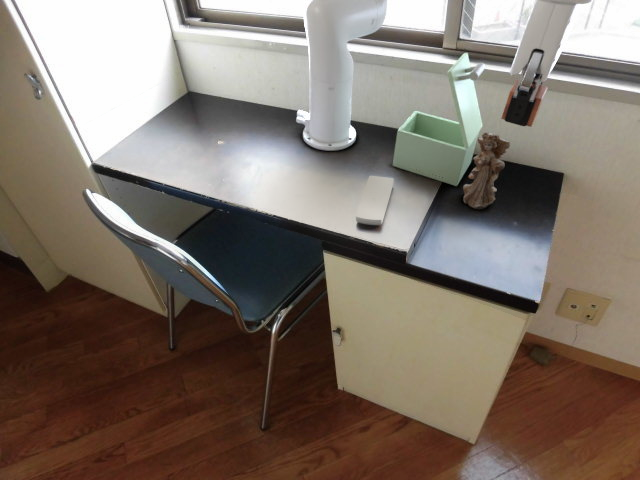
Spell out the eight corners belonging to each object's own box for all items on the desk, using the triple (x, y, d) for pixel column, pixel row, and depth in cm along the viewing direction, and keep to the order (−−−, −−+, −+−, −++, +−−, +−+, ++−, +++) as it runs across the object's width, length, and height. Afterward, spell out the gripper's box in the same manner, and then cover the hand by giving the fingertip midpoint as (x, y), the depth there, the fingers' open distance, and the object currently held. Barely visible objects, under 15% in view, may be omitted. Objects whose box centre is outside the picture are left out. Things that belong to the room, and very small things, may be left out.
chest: (392, 165, 104) (397, 130, 98) (409, 144, 111) (415, 110, 105) (456, 186, 99) (466, 150, 93) (470, 163, 105) (480, 128, 99)
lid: (447, 72, 86) (471, 66, 83) (463, 53, 92) (486, 48, 89) (464, 148, 93) (487, 146, 90) (479, 126, 99) (500, 123, 97)
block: (501, 119, 70) (509, 91, 67) (508, 106, 73) (517, 79, 70) (531, 127, 69) (541, 99, 66) (537, 114, 72) (547, 87, 69)
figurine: (451, 200, 96) (469, 134, 85) (464, 186, 99) (482, 121, 89) (486, 215, 92) (508, 148, 82) (498, 200, 96) (521, 134, 86)
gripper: (547, -38, 65) (508, 87, 78) (519, -6, 54) (478, 133, 67) (606, -29, 62) (555, 99, 75) (588, 6, 52) (532, 149, 64)
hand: (519, 114), depth 71 cm, fingers closed on block, 4 cm apart
